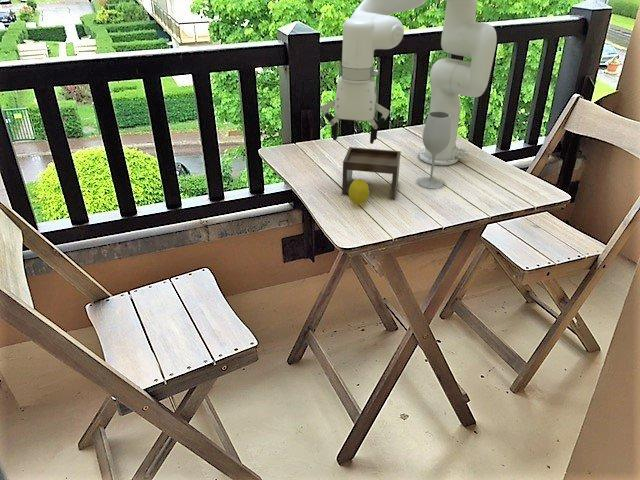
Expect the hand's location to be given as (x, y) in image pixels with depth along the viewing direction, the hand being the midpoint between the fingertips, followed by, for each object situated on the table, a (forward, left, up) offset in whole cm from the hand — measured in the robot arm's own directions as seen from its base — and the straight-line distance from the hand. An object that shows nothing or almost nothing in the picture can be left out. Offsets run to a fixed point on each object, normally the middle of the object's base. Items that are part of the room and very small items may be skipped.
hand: (353, 140), depth 137 cm
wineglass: (-21, -17, -18) cm, 33 cm away
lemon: (-2, +1, -18) cm, 19 cm away
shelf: (-4, -10, -18) cm, 21 cm away
